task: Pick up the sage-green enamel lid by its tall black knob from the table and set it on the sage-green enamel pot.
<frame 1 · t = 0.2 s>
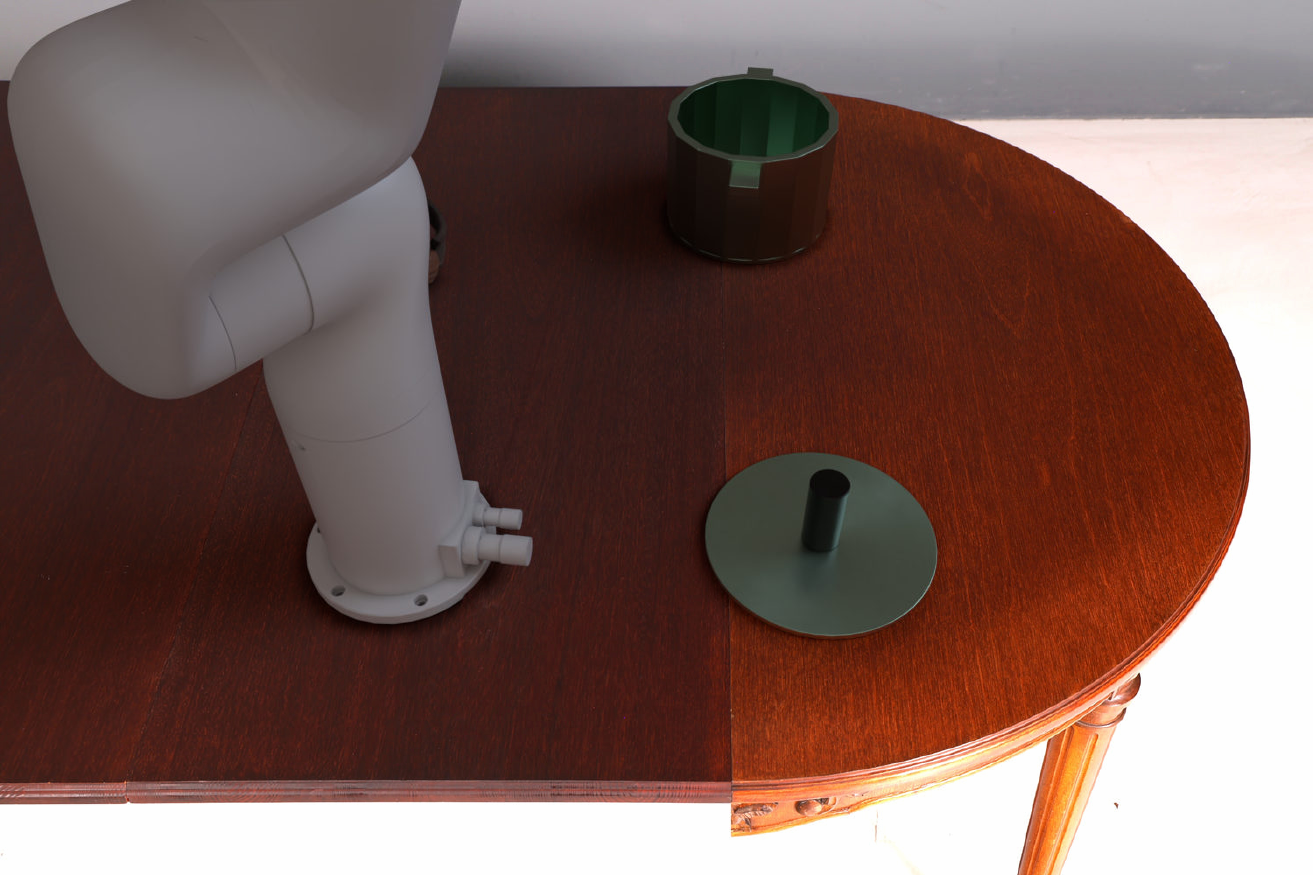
lid: (819, 541, 71), point 1 cm above the table
pottery mug: (383, 276, 92), on the table
pot: (745, 217, 98), on the table
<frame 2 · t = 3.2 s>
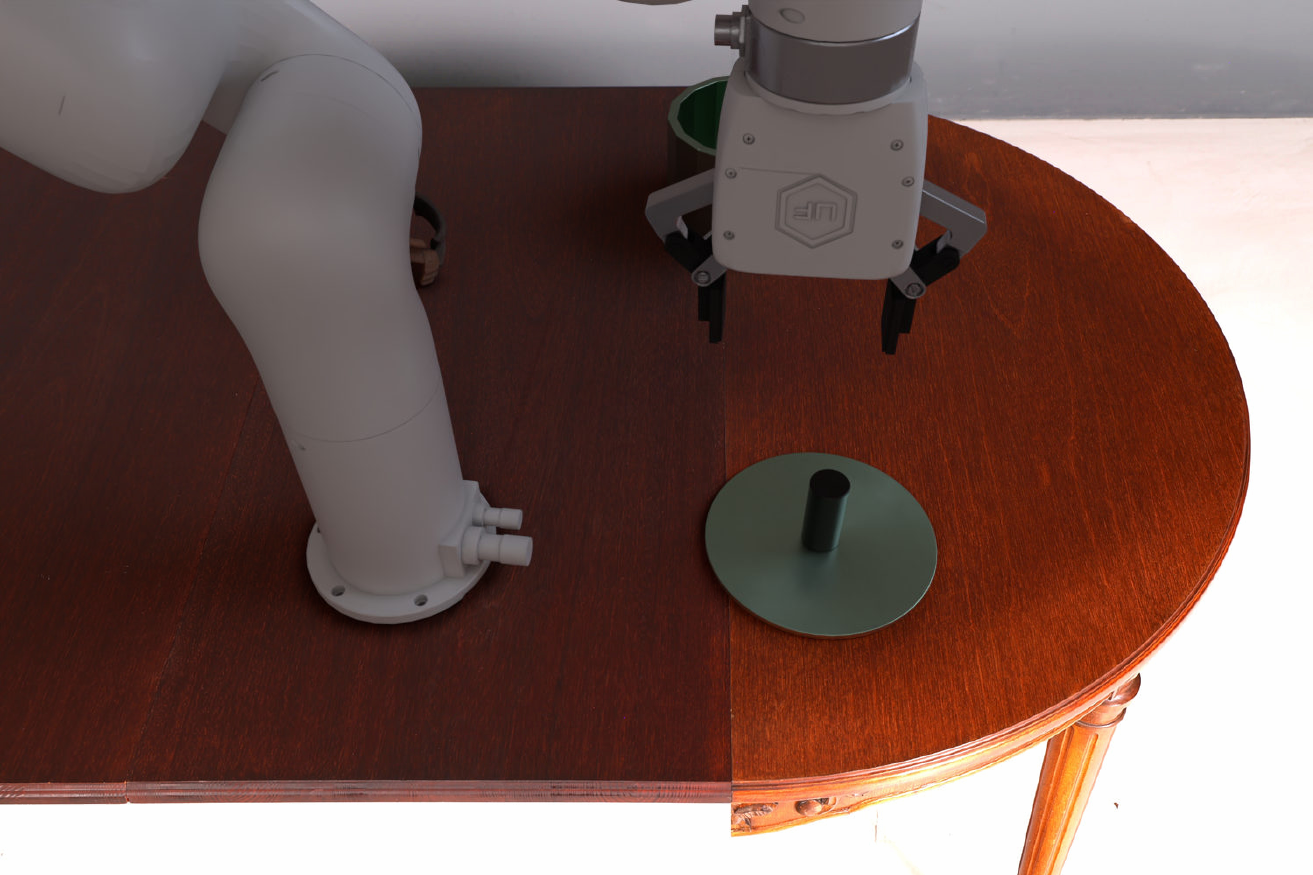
hand: (801, 333, 59), 18 cm above the table, tool pointing down, fingers open, 9 cm apart
nothing on the table moved.
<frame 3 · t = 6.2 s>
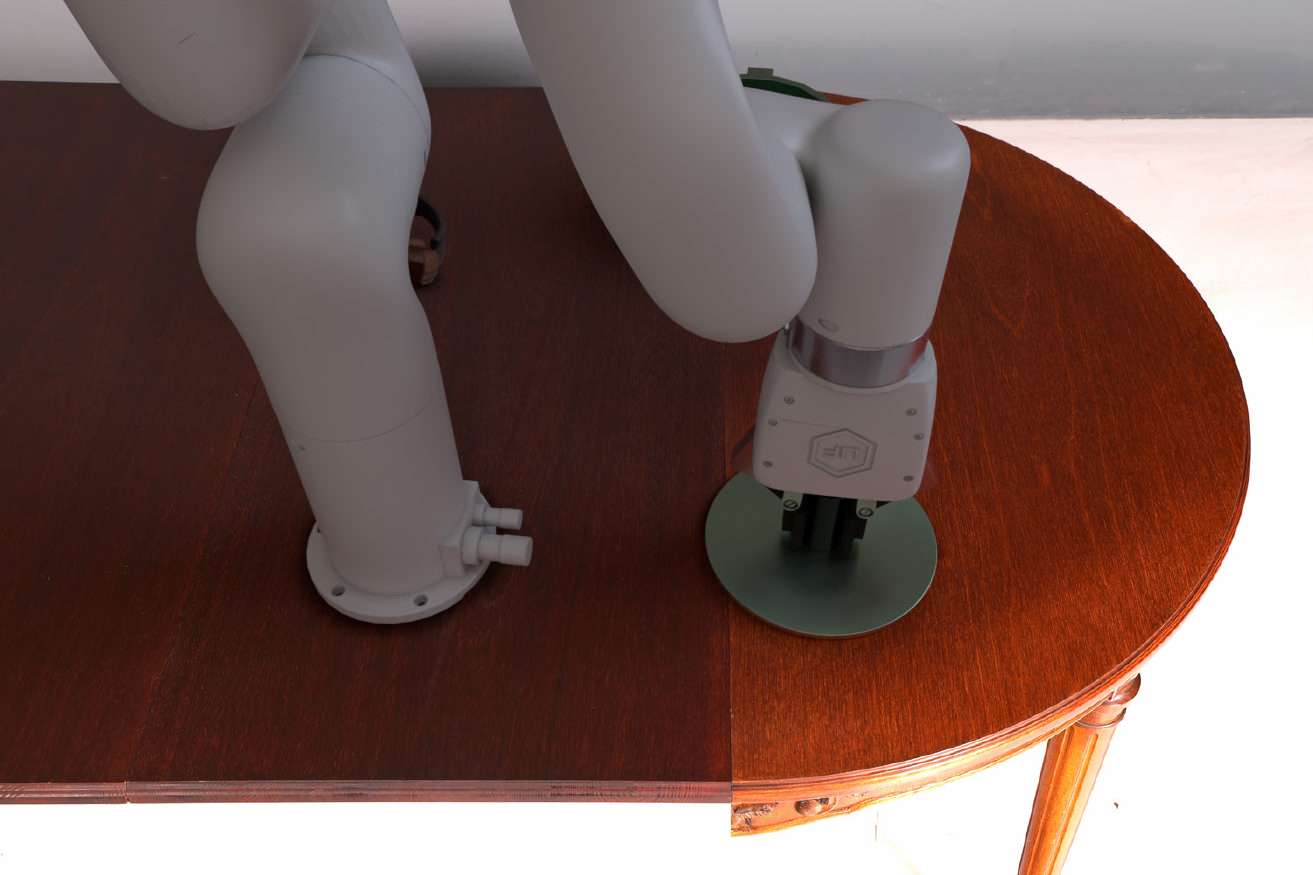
hand: (820, 535, 71), 1 cm above the table, tool pointing down, fingers closed on lid, 2 cm apart
lid: (819, 541, 71), point 1 cm above the table, touching gripper
everything else where it was.
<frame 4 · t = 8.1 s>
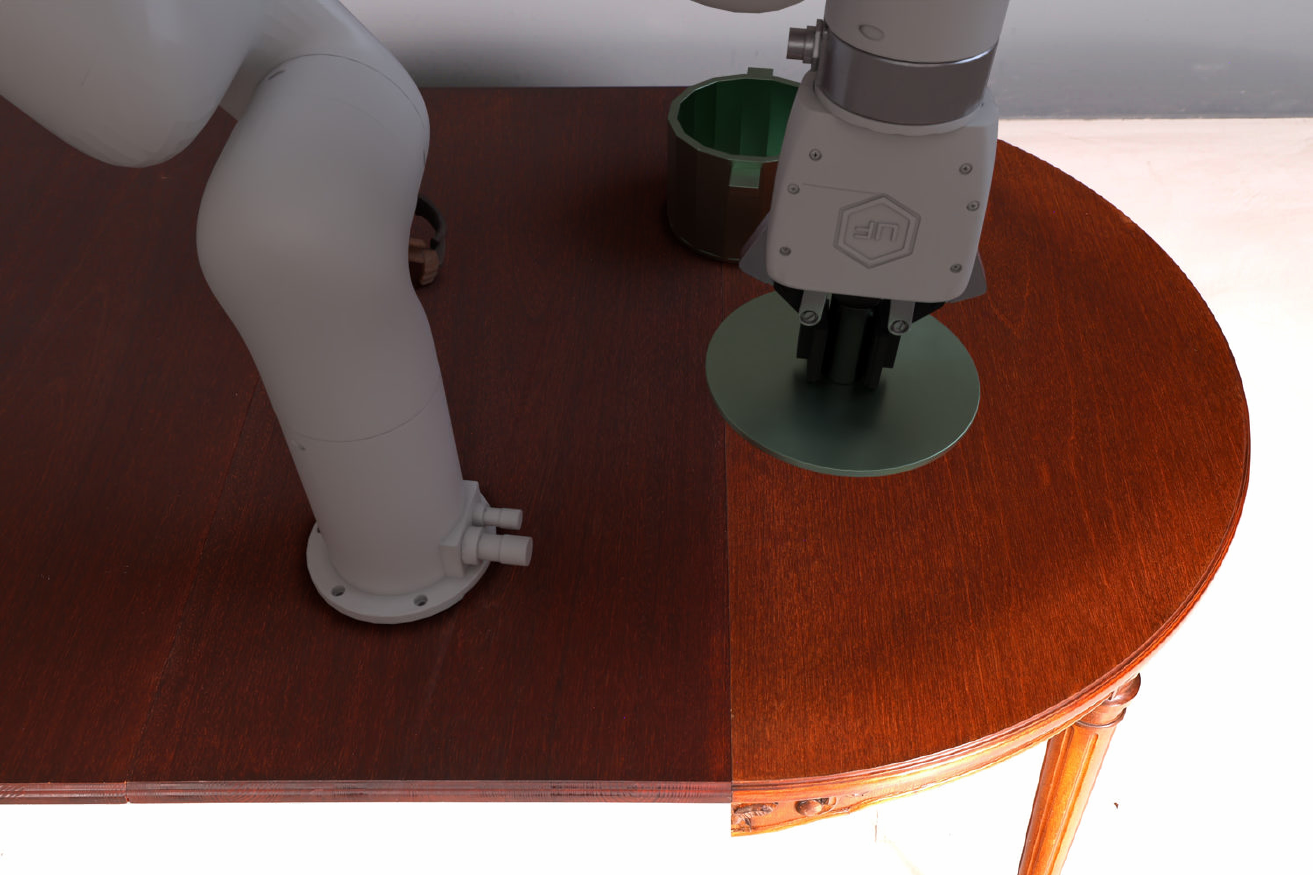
hand: (842, 366, 60), 17 cm above the table, tool pointing down, fingers closed on lid, 2 cm apart
lid: (840, 375, 60), point 16 cm above the table, touching gripper
everything else where it was.
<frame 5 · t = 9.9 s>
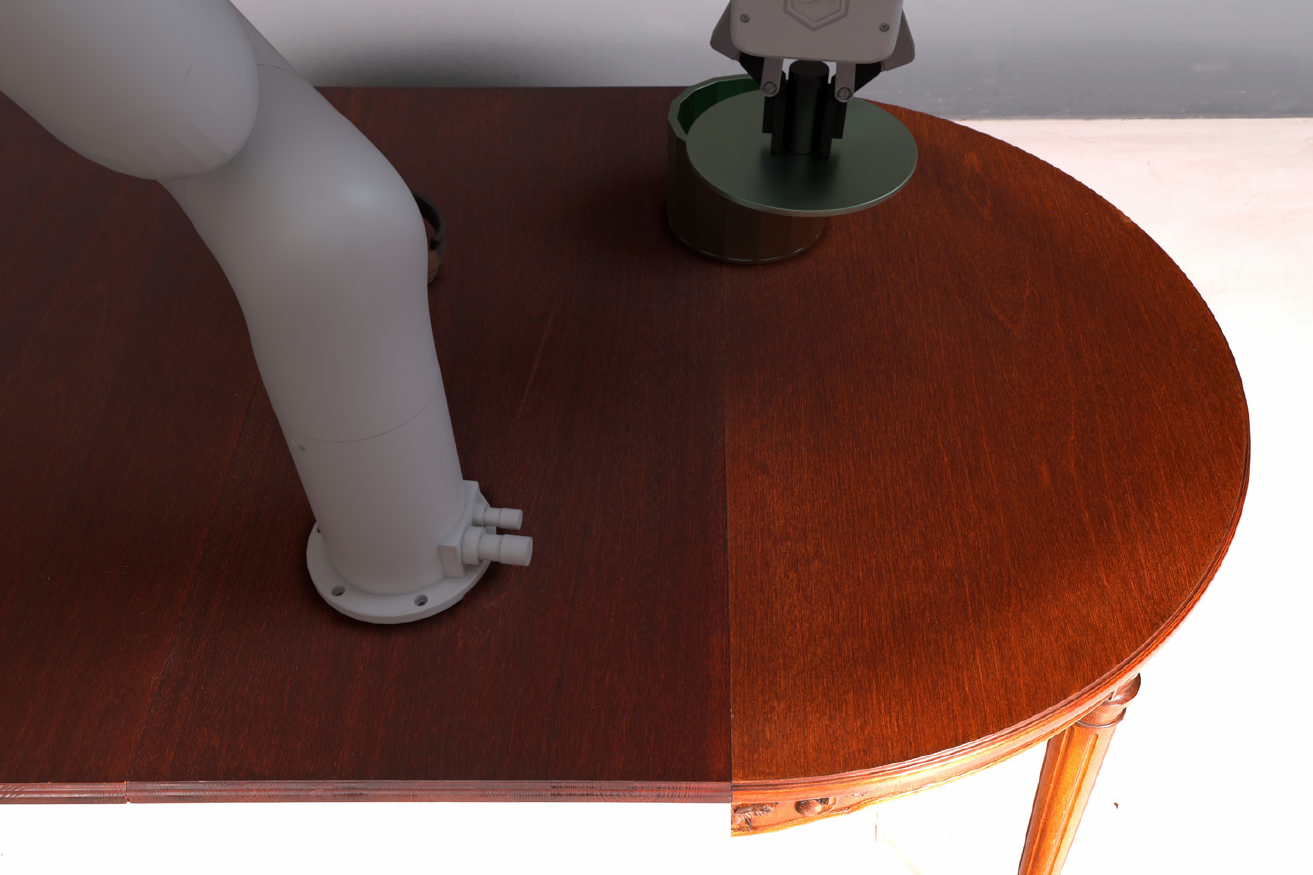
hand: (801, 141, 71), 19 cm above the table, tool pointing down, fingers closed on lid, 2 cm apart
lid: (800, 150, 71), point 19 cm above the table, touching gripper
everything else where it was.
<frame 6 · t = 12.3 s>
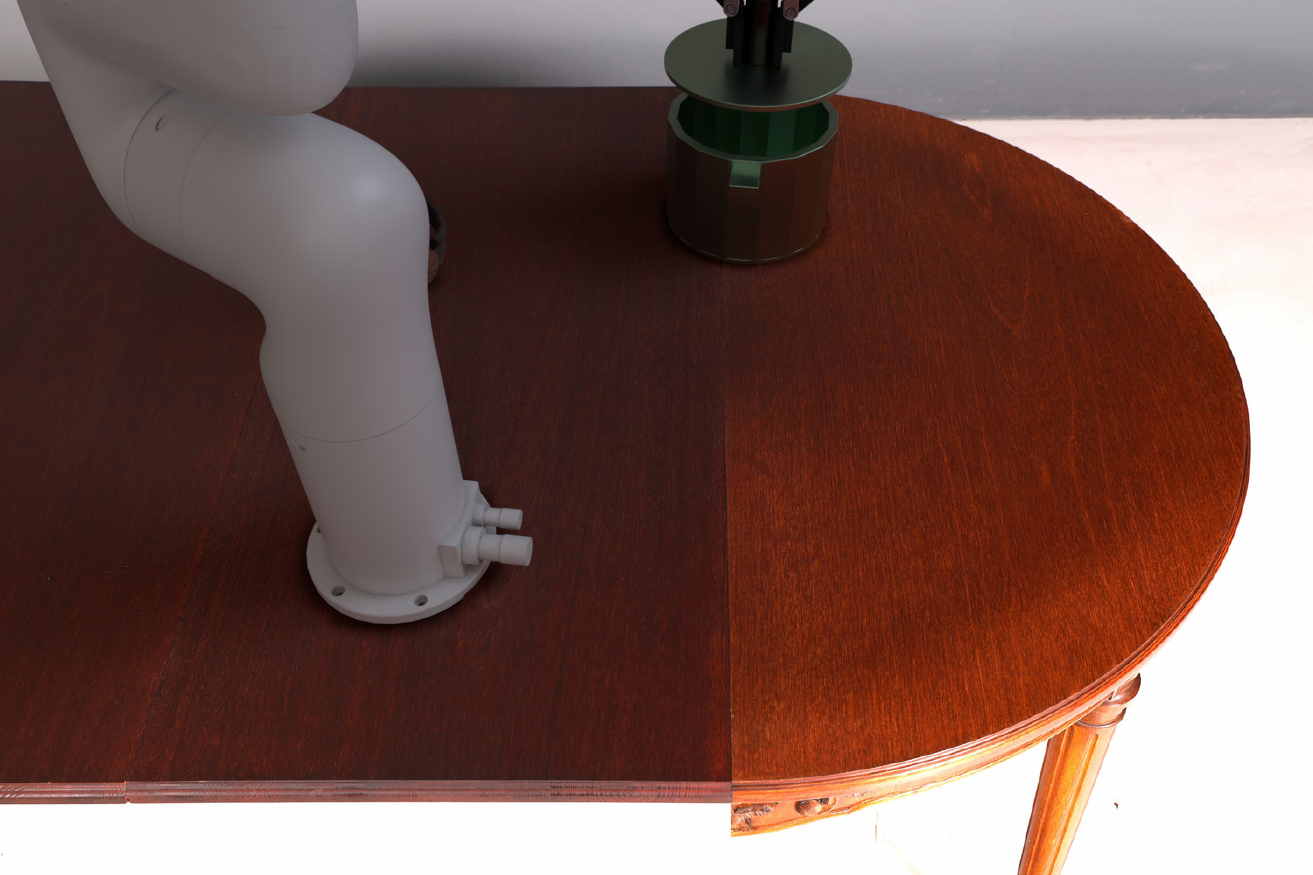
hand: (758, 56, 87), 16 cm above the table, tool pointing down, fingers closed on lid, 2 cm apart
lid: (757, 64, 87), point 15 cm above the table, touching gripper
everything else where it was.
when the fingers open (11 cm above the table, at t = 13.8 s): lid stays where it is, resting on pot.
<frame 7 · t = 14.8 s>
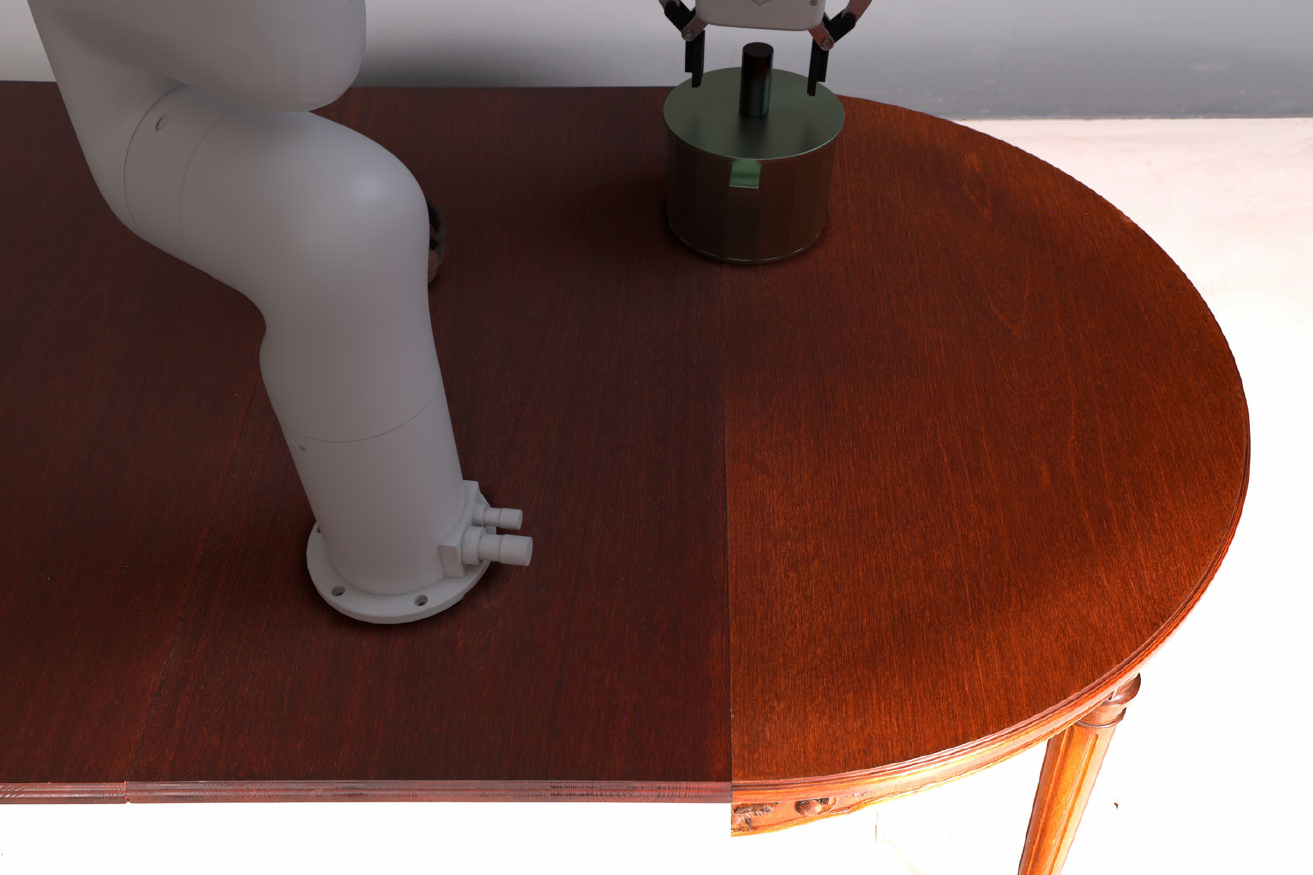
hand: (754, 84, 88), 13 cm above the table, tool pointing down, fingers open, 9 cm apart
lid: (753, 115, 90), point 10 cm above the table, touching pot
everything else where it was.
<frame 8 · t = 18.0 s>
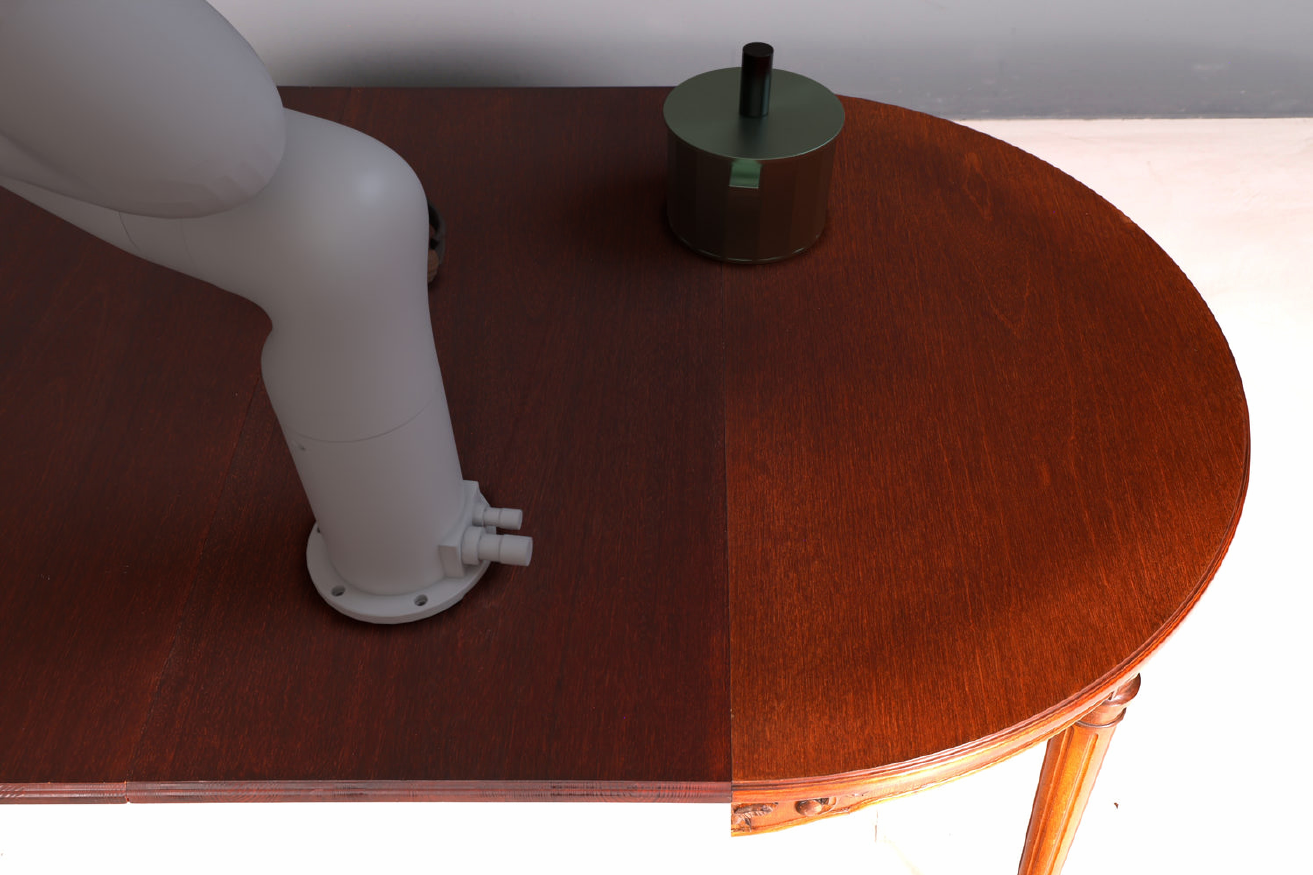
nothing on the table moved.
at the end: lid 0.0 cm off-centre on the pot, point 10.5 cm above the pot's base; lid tilted 0°; the gripper is holding nothing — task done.
